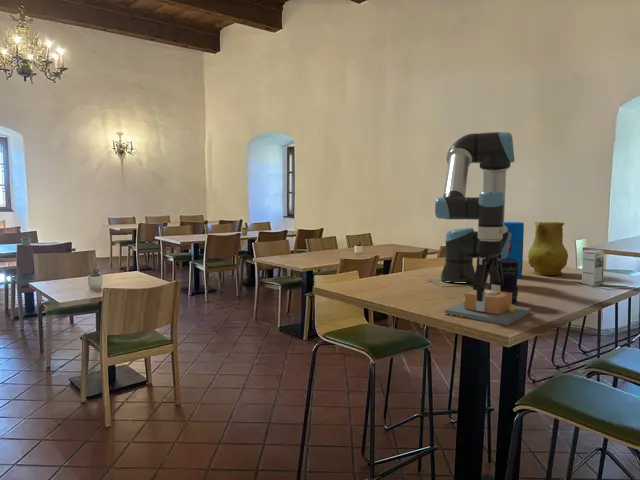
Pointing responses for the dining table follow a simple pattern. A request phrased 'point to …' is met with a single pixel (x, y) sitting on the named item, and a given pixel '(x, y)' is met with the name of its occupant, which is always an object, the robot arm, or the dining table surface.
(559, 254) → the yellow rounded vessel
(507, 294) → the square frame
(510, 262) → the storage jar
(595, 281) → the syrup box
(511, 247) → the thermos
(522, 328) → the dining table surface
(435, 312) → the dining table surface
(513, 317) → the post board
